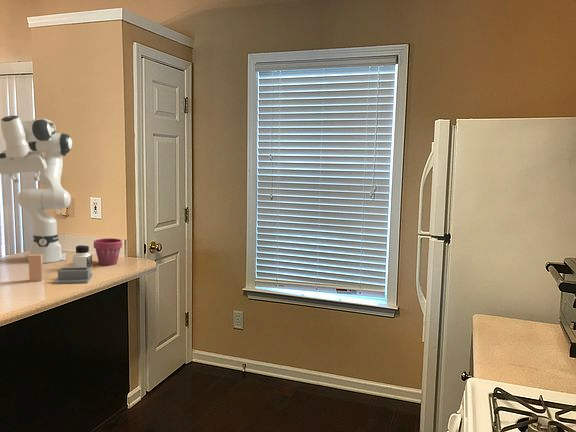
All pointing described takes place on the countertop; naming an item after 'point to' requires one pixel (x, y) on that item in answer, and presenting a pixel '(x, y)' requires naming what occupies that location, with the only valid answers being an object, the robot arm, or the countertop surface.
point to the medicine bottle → (82, 257)
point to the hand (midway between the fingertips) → (26, 181)
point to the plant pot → (107, 250)
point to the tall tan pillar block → (35, 267)
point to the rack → (73, 275)
